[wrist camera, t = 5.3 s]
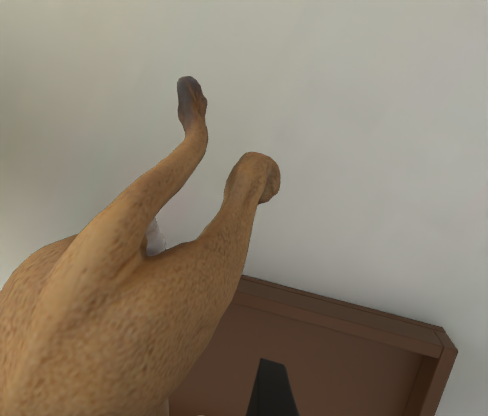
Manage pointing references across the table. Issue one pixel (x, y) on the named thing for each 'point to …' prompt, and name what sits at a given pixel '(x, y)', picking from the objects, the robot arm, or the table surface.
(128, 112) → the table surface
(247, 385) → the tray
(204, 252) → the lion figurine
